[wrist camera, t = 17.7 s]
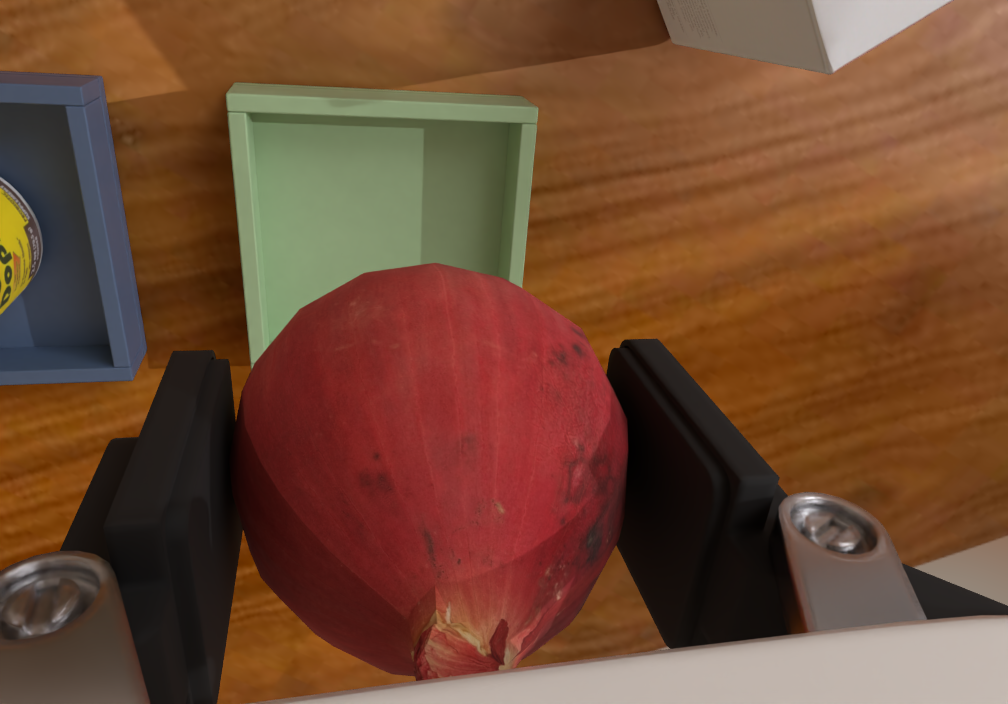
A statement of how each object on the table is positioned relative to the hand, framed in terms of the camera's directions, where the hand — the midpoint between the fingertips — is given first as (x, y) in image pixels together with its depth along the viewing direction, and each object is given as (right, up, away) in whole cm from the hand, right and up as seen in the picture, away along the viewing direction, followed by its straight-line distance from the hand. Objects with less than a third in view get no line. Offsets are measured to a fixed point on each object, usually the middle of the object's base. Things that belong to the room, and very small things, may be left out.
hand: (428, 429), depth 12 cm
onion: (-1, +1, +3) cm, 3 cm away
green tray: (-4, +6, +18) cm, 20 cm away
